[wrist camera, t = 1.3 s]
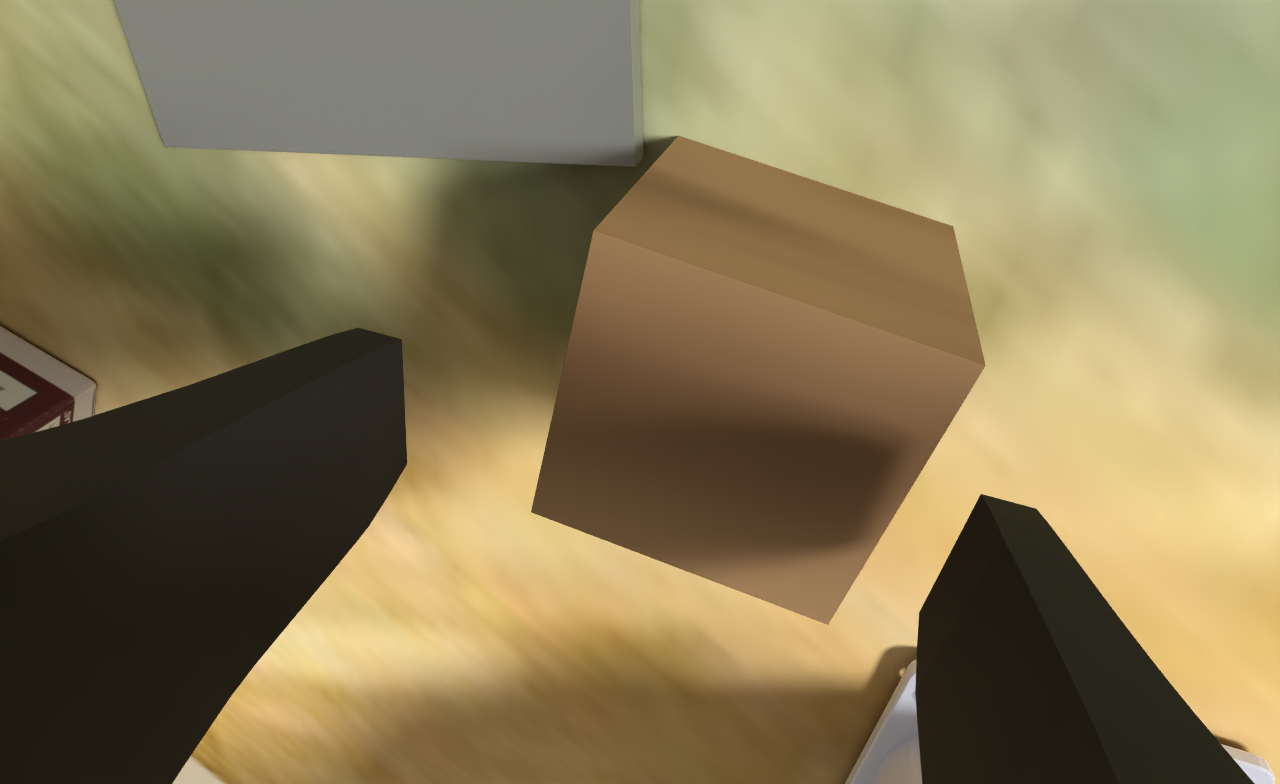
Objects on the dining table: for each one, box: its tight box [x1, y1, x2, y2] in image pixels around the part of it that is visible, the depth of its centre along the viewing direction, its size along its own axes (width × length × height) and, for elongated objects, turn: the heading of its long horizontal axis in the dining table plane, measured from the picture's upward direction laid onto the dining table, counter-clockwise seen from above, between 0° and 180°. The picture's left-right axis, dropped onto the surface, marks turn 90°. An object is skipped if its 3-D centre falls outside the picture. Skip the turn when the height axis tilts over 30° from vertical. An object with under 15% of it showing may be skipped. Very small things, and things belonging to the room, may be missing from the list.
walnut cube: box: [531, 136, 985, 625], centre depth 13 cm, size 5×5×5 cm
